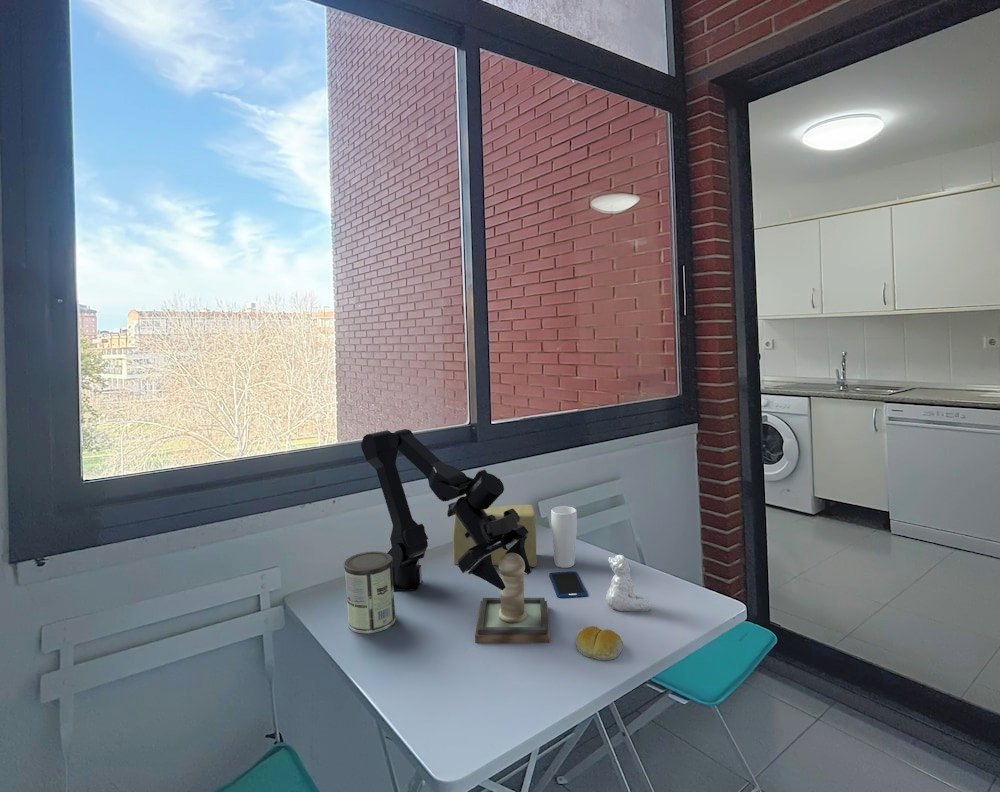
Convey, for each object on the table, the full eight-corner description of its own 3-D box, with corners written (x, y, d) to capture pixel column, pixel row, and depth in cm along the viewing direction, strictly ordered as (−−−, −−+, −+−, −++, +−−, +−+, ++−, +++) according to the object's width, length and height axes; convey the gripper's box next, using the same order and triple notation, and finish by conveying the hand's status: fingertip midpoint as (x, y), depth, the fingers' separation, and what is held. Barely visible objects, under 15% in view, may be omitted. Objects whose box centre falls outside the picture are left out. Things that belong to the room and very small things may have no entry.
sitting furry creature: (652, 611, 132) (653, 559, 130) (620, 619, 128) (620, 566, 127) (627, 593, 140) (628, 544, 139) (596, 601, 137) (596, 551, 136)
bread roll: (585, 634, 123) (585, 616, 123) (627, 646, 118) (627, 627, 118) (568, 653, 116) (568, 634, 116) (611, 666, 111) (611, 646, 111)
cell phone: (558, 600, 139) (557, 597, 139) (548, 575, 152) (548, 572, 152) (588, 598, 139) (588, 595, 139) (576, 573, 153) (576, 570, 153)
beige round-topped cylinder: (507, 625, 123) (506, 561, 122) (493, 613, 129) (492, 551, 127) (531, 618, 126) (531, 555, 124) (517, 607, 131) (516, 546, 130)
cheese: (452, 571, 155) (450, 516, 153) (454, 557, 165) (452, 504, 163) (537, 568, 156) (536, 513, 154) (534, 554, 166) (533, 502, 164)
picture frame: (475, 642, 121) (474, 631, 120) (480, 607, 135) (480, 596, 135) (549, 642, 120) (549, 630, 119) (546, 607, 135) (546, 596, 134)
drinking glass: (576, 570, 154) (576, 514, 152) (550, 569, 155) (549, 513, 153) (578, 560, 160) (577, 506, 158) (553, 558, 162) (552, 505, 160)
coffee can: (364, 607, 137) (360, 549, 135) (404, 613, 133) (401, 553, 131) (337, 630, 127) (333, 567, 125) (380, 637, 124) (376, 572, 122)
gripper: (466, 511, 119) (512, 577, 114) (520, 489, 134) (563, 546, 129) (439, 541, 125) (481, 605, 120) (494, 516, 140) (533, 572, 134)
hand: (517, 580), depth 125 cm, fingers open, 9 cm apart
